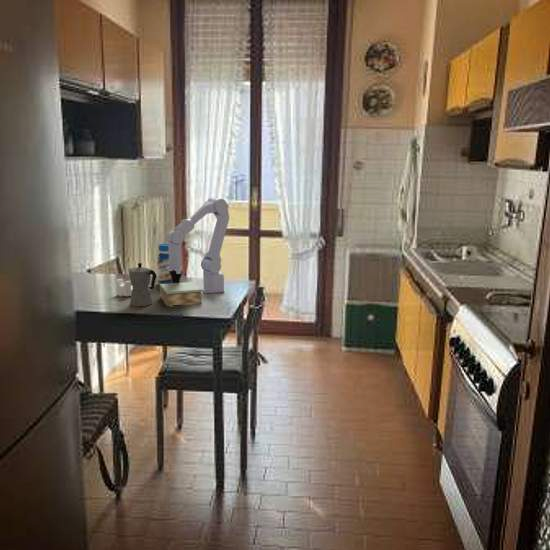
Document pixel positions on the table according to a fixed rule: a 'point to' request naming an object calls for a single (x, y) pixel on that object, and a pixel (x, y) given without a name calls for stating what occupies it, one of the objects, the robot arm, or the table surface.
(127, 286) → the bracket
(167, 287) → the lid
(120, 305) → the table surface
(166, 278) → the beverage bottle
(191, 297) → the box
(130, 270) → the coffeepot
